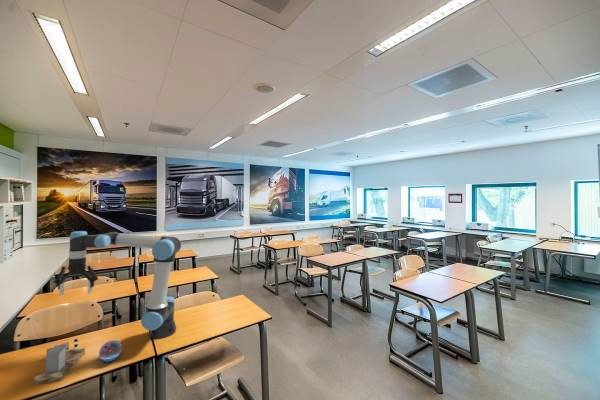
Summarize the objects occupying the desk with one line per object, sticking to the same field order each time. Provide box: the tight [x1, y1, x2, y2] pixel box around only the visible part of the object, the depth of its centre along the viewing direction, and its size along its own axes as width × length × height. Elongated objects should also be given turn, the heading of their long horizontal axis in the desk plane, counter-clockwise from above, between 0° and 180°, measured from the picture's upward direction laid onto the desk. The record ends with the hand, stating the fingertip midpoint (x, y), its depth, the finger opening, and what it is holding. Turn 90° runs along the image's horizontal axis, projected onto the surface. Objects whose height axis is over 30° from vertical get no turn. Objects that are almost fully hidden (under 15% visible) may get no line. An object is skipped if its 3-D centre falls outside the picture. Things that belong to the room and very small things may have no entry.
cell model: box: [98, 339, 123, 363], centre depth 134 cm, size 10×12×10 cm
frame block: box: [45, 344, 67, 375], centre depth 122 cm, size 5×7×11 cm
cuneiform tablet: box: [46, 338, 79, 353], centre depth 137 cm, size 7×4×12 cm
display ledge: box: [33, 347, 86, 385], centre depth 127 cm, size 10×22×3 cm, turn 18°
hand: (76, 293), depth 144 cm, fingers open, 13 cm apart
